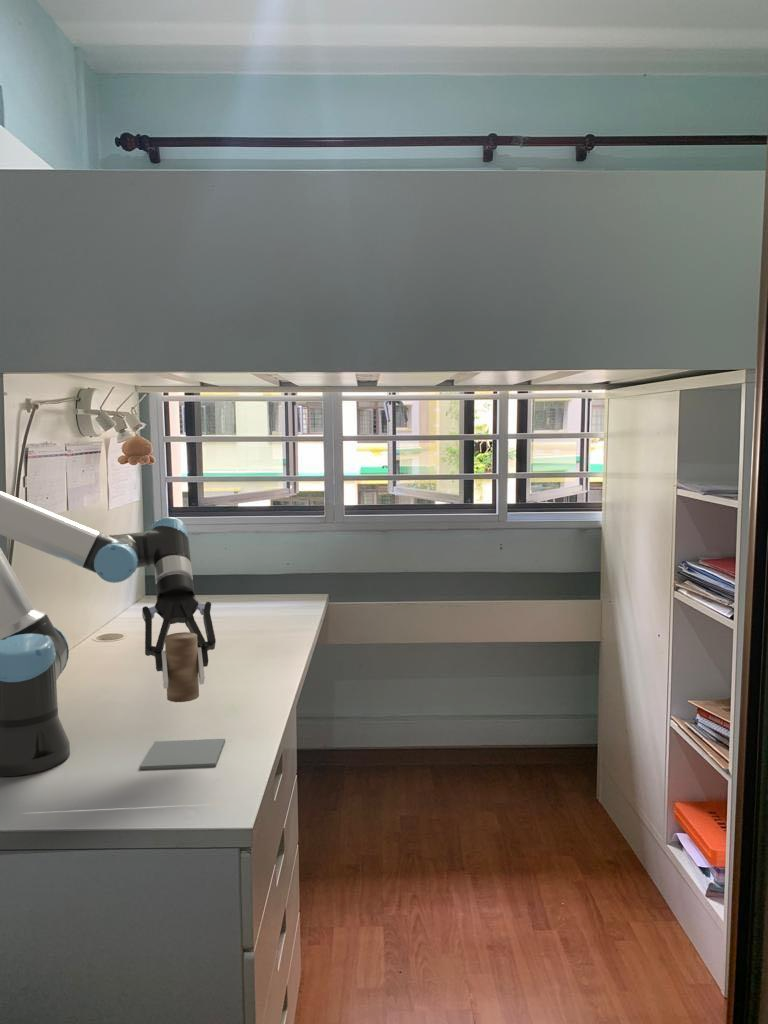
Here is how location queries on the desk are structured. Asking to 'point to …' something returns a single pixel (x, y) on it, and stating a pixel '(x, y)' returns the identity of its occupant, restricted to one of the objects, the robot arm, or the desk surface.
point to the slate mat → (183, 754)
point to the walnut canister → (182, 667)
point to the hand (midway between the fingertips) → (184, 682)
